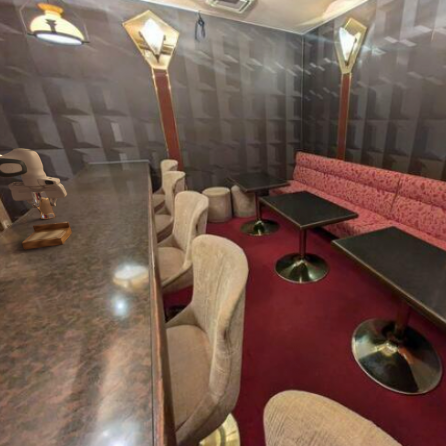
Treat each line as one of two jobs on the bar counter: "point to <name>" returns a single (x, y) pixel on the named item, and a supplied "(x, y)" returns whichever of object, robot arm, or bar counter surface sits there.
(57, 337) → the bar counter surface
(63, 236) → the shallow wooden tray
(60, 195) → the robot arm
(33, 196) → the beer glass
